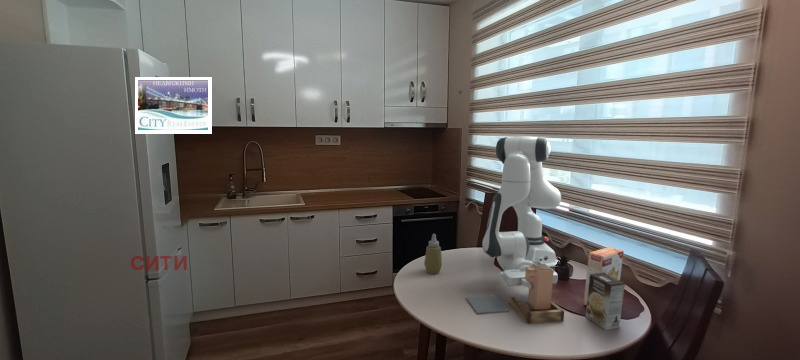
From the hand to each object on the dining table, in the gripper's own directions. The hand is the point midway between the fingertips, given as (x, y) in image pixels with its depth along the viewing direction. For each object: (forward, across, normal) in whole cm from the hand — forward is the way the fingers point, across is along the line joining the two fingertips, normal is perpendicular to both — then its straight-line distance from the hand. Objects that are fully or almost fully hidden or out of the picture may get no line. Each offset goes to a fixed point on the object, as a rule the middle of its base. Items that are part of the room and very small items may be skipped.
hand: (541, 286), depth 131 cm
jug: (0, -1, +8) cm, 8 cm away
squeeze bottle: (-40, -29, +10) cm, 51 cm away
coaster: (-7, -17, +10) cm, 21 cm away
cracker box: (-2, +27, +10) cm, 29 cm away
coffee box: (+10, +18, +10) cm, 23 cm away
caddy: (0, -2, +10) cm, 10 cm away
